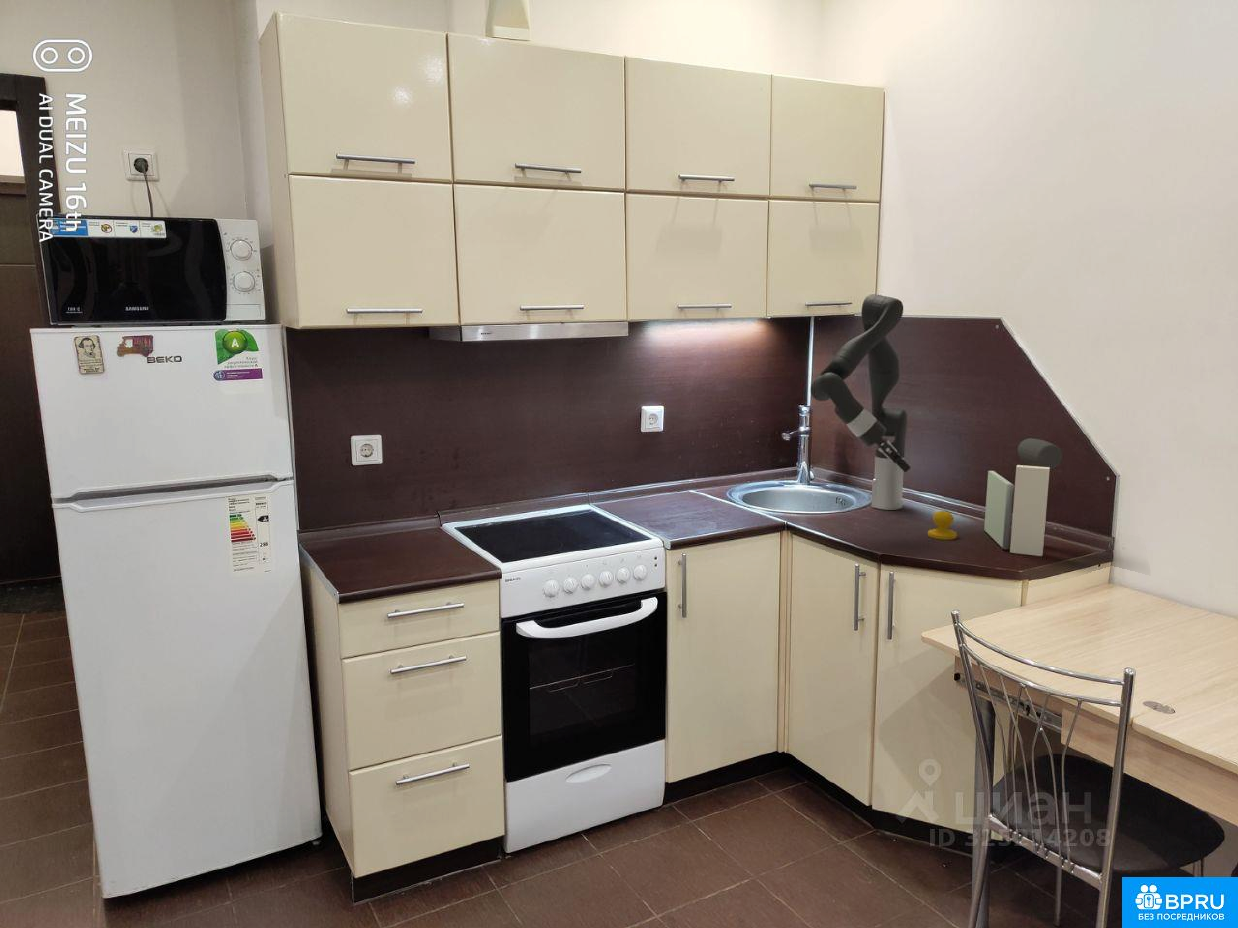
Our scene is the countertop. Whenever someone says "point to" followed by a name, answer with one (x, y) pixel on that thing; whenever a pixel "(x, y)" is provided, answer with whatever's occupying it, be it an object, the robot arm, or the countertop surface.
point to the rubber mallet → (1039, 453)
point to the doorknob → (942, 526)
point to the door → (999, 509)
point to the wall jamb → (1029, 510)
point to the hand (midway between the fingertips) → (906, 468)
